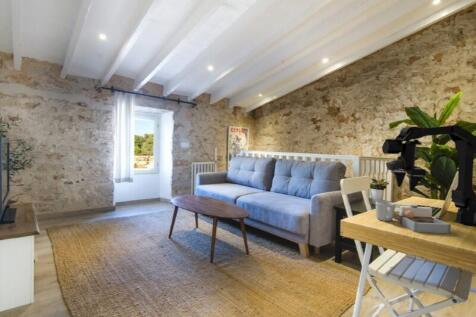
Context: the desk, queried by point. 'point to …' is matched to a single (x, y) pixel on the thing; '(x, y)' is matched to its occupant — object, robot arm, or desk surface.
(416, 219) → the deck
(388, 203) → the cup
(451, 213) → the desk surface
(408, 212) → the ball
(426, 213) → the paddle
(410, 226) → the bin
